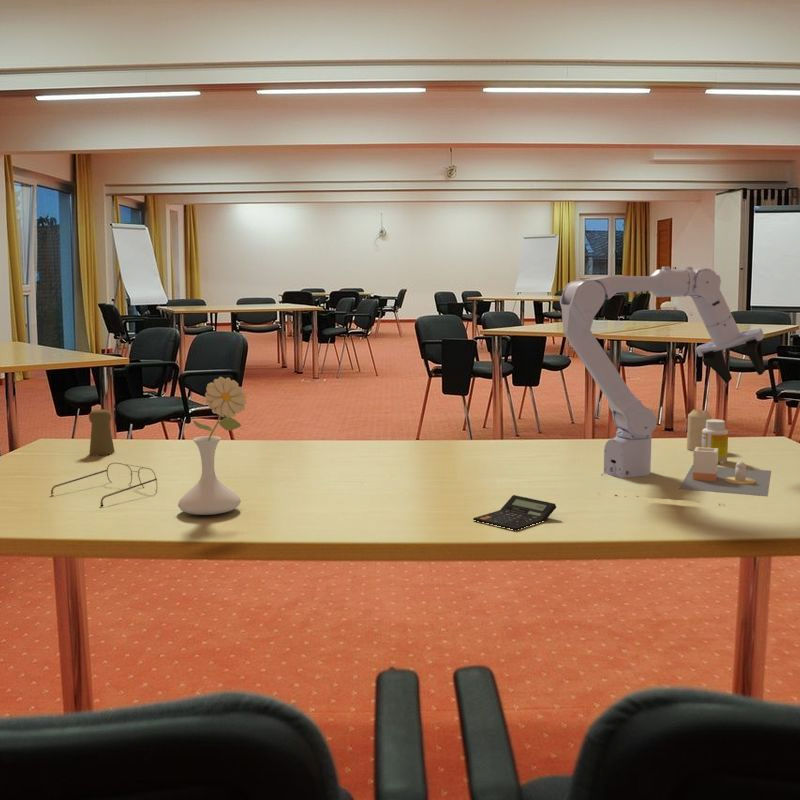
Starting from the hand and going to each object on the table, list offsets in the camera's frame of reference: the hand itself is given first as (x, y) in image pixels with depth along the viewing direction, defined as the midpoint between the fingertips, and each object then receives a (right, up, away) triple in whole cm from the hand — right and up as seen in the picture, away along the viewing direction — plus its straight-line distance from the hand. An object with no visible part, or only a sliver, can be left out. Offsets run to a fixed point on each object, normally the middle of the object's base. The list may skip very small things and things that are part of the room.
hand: (745, 376), depth 186 cm
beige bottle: (0, -17, +30) cm, 34 cm away
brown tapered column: (-148, -19, +32) cm, 153 cm away
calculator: (-53, -27, -31) cm, 67 cm away
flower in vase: (-108, -26, -24) cm, 113 cm away
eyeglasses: (-133, -24, -9) cm, 135 cm away
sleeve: (-11, -21, -6) cm, 24 cm away
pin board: (-6, -22, -7) cm, 24 cm away
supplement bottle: (-3, -20, +12) cm, 23 cm away
